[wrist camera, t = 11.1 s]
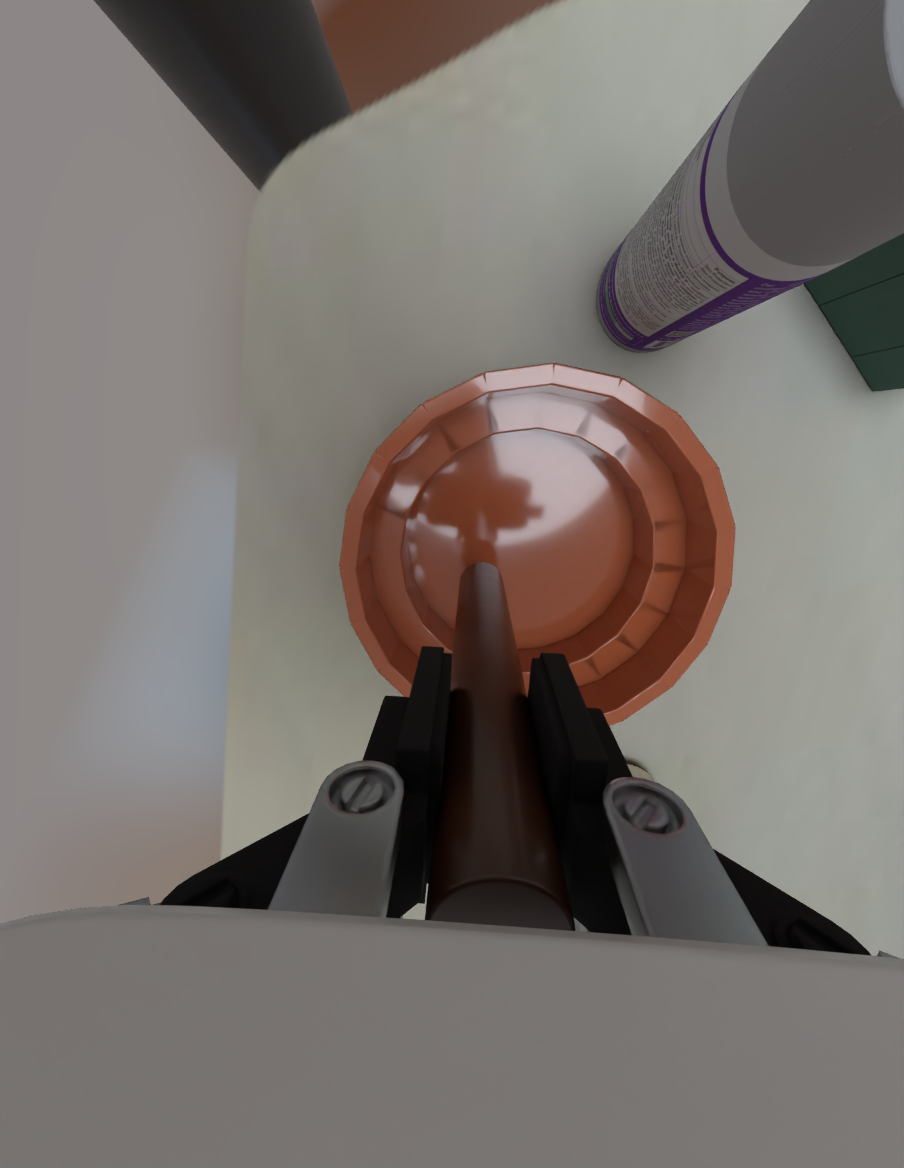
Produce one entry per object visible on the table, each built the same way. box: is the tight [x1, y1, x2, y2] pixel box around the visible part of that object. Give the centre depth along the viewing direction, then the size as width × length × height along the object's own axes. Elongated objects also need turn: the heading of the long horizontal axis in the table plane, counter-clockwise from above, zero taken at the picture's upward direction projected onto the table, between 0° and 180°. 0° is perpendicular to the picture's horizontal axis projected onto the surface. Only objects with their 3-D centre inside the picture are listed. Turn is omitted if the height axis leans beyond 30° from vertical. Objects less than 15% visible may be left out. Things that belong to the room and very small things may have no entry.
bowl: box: [339, 363, 735, 726], centre depth 21 cm, size 15×15×6 cm
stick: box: [425, 562, 575, 931], centre depth 14 cm, size 2×2×16 cm
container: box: [597, 0, 904, 352], centre depth 13 cm, size 5×5×15 cm
